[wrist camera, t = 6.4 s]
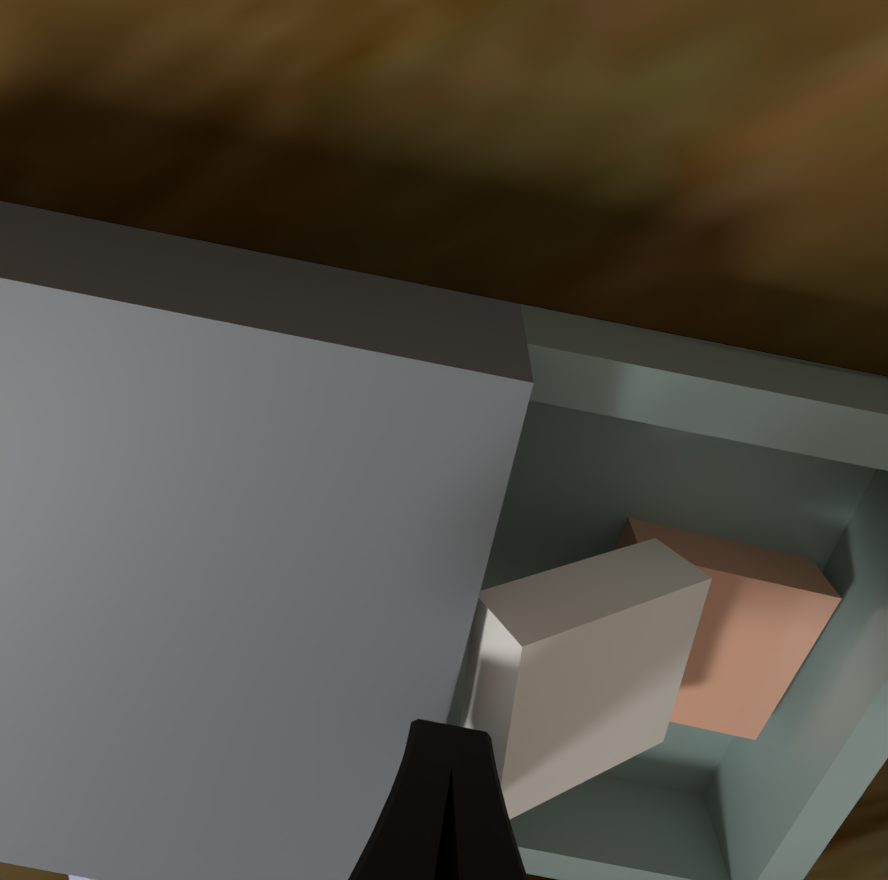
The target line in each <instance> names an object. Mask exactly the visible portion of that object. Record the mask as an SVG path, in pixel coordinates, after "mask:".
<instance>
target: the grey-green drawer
mask: <svg viewBox="0 0 888 880" xmlns="http://www.w3.org/2000/svg"><path fill="white" fill-rule="evenodd" d="M521 309H522V315H523V321H524V327H525V333H526V340H527V346H528V352H529V358H530V364H531V370H532V376H533V382H534V383H533V387H532V391H531V395H530V399H529V403H528V407H527V411H526V414H525V418H524V422H523V426H522V430H521V434H520V438H519V442H518V446H517V449H516V453H515V457H514V461H513V465H512V469H511V473H510V477H509V481H508V485H507V488H506V492H505V496H504V500H503V504H502V508H501V512H500V516H499V520H498V523H497V527H496V531H495V535H494V539H493V543H492V547H491V551H490V555H489V559H488V562H487V566H486V570H485V574H484V578H483V582H482V586H481V590H480V591H482V590H485V589H488V588H491V587H495V586H498V585H501V584H505V583H508V582H511V581H515V580H518V579H521V578H524V577H528V576H531V575H534V574H538V573H541V572H544V571H548V570H551V569H554V568H558V567H561V566H564V565H567V564H571V563H574V562H577V561H581V560H584V559H587V558H591V557H594V556H597V555H600V554H604V553H607V552H610V551H614V550H615V549H616V546H617V544H618V541H619V539H620V536H621V534H622V531H623V529H624V526H625V524H626V521H627V519H628V517H630V518H635V519H639V520H644V521H648V522H653V523H657V524H661V525H666V526H670V527H675V528H679V529H684V530H688V531H693V532H697V533H701V534H706V535H710V536H715V537H719V538H724V539H728V540H732V541H737V542H741V543H746V544H750V545H755V546H759V547H764V548H768V549H772V550H777V551H781V552H786V553H790V554H795V555H799V556H804V557H808V558H811V559H812V560H813V562H814V563H815V564H816V565H817V567H818V568H819V569H820V571H821V572H822V573H823V575H824V576H825V577H826V579H827V580H828V581H829V582H830V584H831V585H832V586H833V588H834V589H835V590H836V592H837V593H838V594H839V596H840V597H841V598H842V599H841V601H840V602H839V604H838V605H837V607H836V609H835V610H834V612H833V614H832V615H831V617H830V619H829V620H828V622H827V624H826V625H825V627H824V628H823V630H822V632H821V633H820V635H819V637H818V638H817V640H816V642H815V643H814V645H813V647H812V648H811V650H810V652H809V653H808V655H807V656H806V658H805V660H804V661H803V663H802V665H801V666H800V668H799V670H798V671H797V673H796V675H795V676H794V678H793V679H792V681H791V683H790V684H789V686H788V688H787V689H786V691H785V693H784V694H783V696H782V698H781V699H780V701H779V702H778V704H777V706H776V707H775V709H774V711H773V712H772V714H771V716H770V717H769V719H768V721H767V722H766V724H765V726H764V727H763V729H762V730H761V732H760V734H759V735H758V737H757V739H756V740H753V739H748V738H743V737H739V736H734V735H730V734H725V733H720V732H716V731H711V730H707V729H702V728H698V727H693V726H688V725H684V724H679V723H675V722H670V721H669V724H668V727H667V731H666V734H665V738H664V741H663V742H661V743H659V744H657V745H655V746H653V747H651V748H650V749H648V750H646V751H644V752H642V753H640V754H638V755H636V756H634V757H632V758H630V759H628V760H626V761H624V762H622V763H620V764H618V765H616V766H614V767H612V768H610V769H608V770H606V771H604V772H602V773H600V774H598V775H596V776H594V777H592V778H590V779H588V780H587V781H585V782H583V783H581V784H579V785H577V786H575V787H573V788H571V789H569V790H567V791H565V792H563V793H561V794H559V795H557V796H555V797H553V798H551V799H549V800H547V801H545V802H543V803H541V804H539V805H537V806H535V807H533V808H531V809H529V810H527V811H525V812H523V813H522V814H520V815H518V816H516V817H514V818H512V819H510V823H511V826H512V830H513V833H514V836H515V840H516V843H517V846H518V849H519V852H520V856H521V859H522V862H523V865H524V868H525V871H526V874H532V875H537V876H542V877H547V878H553V879H558V880H803V879H804V878H805V876H806V875H807V873H808V872H809V870H810V869H811V867H812V866H813V865H814V863H815V862H816V860H817V859H818V857H819V856H820V854H821V853H822V852H823V850H824V849H825V847H826V846H827V844H828V843H829V842H830V840H831V839H832V837H833V836H834V834H835V833H836V831H837V830H838V829H839V827H840V826H841V824H842V823H843V821H844V820H845V818H846V817H847V816H848V814H849V813H850V811H851V810H852V808H853V807H854V806H855V804H856V803H857V801H858V800H859V798H860V797H861V795H862V794H863V793H864V791H865V790H866V788H867V787H868V785H869V784H870V782H871V781H872V780H873V778H874V777H875V775H876V774H877V772H878V771H879V770H880V768H881V767H882V765H883V764H884V762H885V761H886V759H887V758H888V377H886V376H881V375H876V374H871V373H866V372H861V371H856V370H851V369H846V368H841V367H836V366H831V365H825V364H820V363H815V362H810V361H805V360H800V359H795V358H790V357H785V356H780V355H775V354H770V353H765V352H760V351H755V350H750V349H745V348H740V347H735V346H730V345H725V344H720V343H715V342H710V341H705V340H699V339H694V338H689V337H684V336H679V335H674V334H669V333H664V332H659V331H654V330H649V329H644V328H639V327H634V326H629V325H624V324H619V323H614V322H609V321H604V320H599V319H594V318H589V317H584V316H579V315H573V314H568V313H563V312H558V311H553V310H548V309H543V308H538V307H533V306H528V305H523V304H521ZM470 630H471V629H470ZM469 639H470V633H469V636H468V640H467V644H466V648H465V652H464V656H463V660H462V664H461V668H460V672H459V675H458V679H457V683H456V687H455V691H454V695H453V699H452V703H451V707H450V710H449V714H448V718H447V722H446V724H449V725H454V726H459V727H460V723H461V713H462V704H463V695H464V686H465V676H466V667H467V658H468V648H469Z"/></svg>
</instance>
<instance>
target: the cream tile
mask: <svg viewBox="0 0 888 880" xmlns="http://www.w3.org/2000/svg"><path fill="white" fill-rule="evenodd" d="M711 580H712V578H711V577H710V576H709V575H707V574H706V573H704V572H703V571H702V570H700V569H699V568H697V567H696V566H694V565H693V564H692V563H690V562H689V561H687V560H686V559H685V558H683V557H682V556H680V555H679V554H677V553H676V552H675V551H673V550H672V549H670V548H669V547H668V546H666V545H665V544H663V543H662V542H660V541H659V540H658V539H656V538H653V539H650V540H647V541H643V542H640V543H637V544H633V545H630V546H627V547H624V548H620V549H617V550H614V551H610V552H607V553H604V554H600V555H597V556H594V557H591V558H587V559H584V560H581V561H577V562H574V563H571V564H567V565H564V566H561V567H558V568H554V569H551V570H548V571H544V572H541V573H538V574H534V575H531V576H528V577H524V578H521V579H518V580H515V581H511V582H508V583H505V584H501V585H498V586H495V587H491V588H488V589H485V590H482V591H480V594H479V597H478V601H477V605H476V609H475V613H474V617H473V621H472V625H471V630H470V639H469V648H468V658H467V667H466V676H465V686H464V695H463V704H462V713H461V723H460V727H465V728H470V729H475V730H480V731H486V732H487V733H488V734H489V735H490V737H491V740H492V746H493V752H494V757H495V763H496V767H497V772H498V777H499V781H500V785H501V789H502V793H503V797H504V801H505V805H506V808H507V812H508V816H509V819H512V818H514V817H516V816H518V815H520V814H522V813H523V812H525V811H527V810H529V809H531V808H533V807H535V806H537V805H539V804H541V803H543V802H545V801H547V800H549V799H551V798H553V797H555V796H557V795H559V794H561V793H563V792H565V791H567V790H569V789H571V788H573V787H575V786H577V785H579V784H581V783H583V782H585V781H587V780H588V779H590V778H592V777H594V776H596V775H598V774H600V773H602V772H604V771H606V770H608V769H610V768H612V767H614V766H616V765H618V764H620V763H622V762H624V761H626V760H628V759H630V758H632V757H634V756H636V755H638V754H640V753H642V752H644V751H646V750H648V749H650V748H651V747H653V746H655V745H657V744H659V743H661V742H663V741H664V738H665V734H666V731H667V727H668V724H669V721H670V717H671V714H672V711H673V707H674V704H675V701H676V697H677V694H678V691H679V687H680V684H681V681H682V677H683V674H684V670H685V667H686V664H687V660H688V657H689V654H690V650H691V647H692V644H693V640H694V637H695V634H696V630H697V627H698V624H699V620H700V617H701V614H702V610H703V607H704V603H705V600H706V597H707V593H708V590H709V587H710V583H711Z"/></svg>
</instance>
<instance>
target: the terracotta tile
mask: <svg viewBox="0 0 888 880" xmlns="http://www.w3.org/2000/svg"><path fill="white" fill-rule="evenodd" d="M653 538H656V539H658V540H659V541H660V542H662V543H663V544H665V545H666V546H668V547H669V548H670V549H672V550H673V551H675V552H676V553H677V554H679V555H680V556H682V557H683V558H685V559H686V560H687V561H689V562H690V563H692V564H693V565H694V566H696V567H697V568H699V569H700V570H702V571H703V572H704V573H706V574H707V575H709V576H710V577H711V578H712V580H711V583H710V587H709V590H708V593H707V597H706V600H705V603H704V607H703V610H702V614H701V617H700V620H699V624H698V627H697V630H696V634H695V637H694V640H693V644H692V647H691V650H690V654H689V657H688V660H687V664H686V667H685V670H684V674H683V677H682V681H681V684H680V687H679V691H678V694H677V697H676V701H675V704H674V707H673V711H672V714H671V717H670V722H675V723H679V724H684V725H688V726H693V727H698V728H702V729H707V730H711V731H716V732H720V733H725V734H730V735H734V736H739V737H743V738H748V739H753V740H756V739H757V737H758V735H759V734H760V732H761V730H762V729H763V727H764V726H765V724H766V722H767V721H768V719H769V717H770V716H771V714H772V712H773V711H774V709H775V707H776V706H777V704H778V702H779V701H780V699H781V698H782V696H783V694H784V693H785V691H786V689H787V688H788V686H789V684H790V683H791V681H792V679H793V678H794V676H795V675H796V673H797V671H798V670H799V668H800V666H801V665H802V663H803V661H804V660H805V658H806V656H807V655H808V653H809V652H810V650H811V648H812V647H813V645H814V643H815V642H816V640H817V638H818V637H819V635H820V633H821V632H822V630H823V628H824V627H825V625H826V624H827V622H828V620H829V619H830V617H831V615H832V614H833V612H834V610H835V609H836V607H837V605H838V604H839V602H840V601H841V599H842V598H841V597H840V596H839V594H838V593H837V592H836V590H835V589H834V588H833V586H832V585H831V584H830V582H829V581H828V580H827V579H826V577H825V576H824V575H823V573H822V572H821V571H820V569H819V568H818V567H817V565H816V564H815V563H814V562H813V560H812V559H811V558H808V557H804V556H799V555H795V554H790V553H786V552H781V551H777V550H772V549H768V548H764V547H759V546H755V545H750V544H746V543H741V542H737V541H732V540H728V539H724V538H719V537H715V536H710V535H706V534H701V533H697V532H693V531H688V530H684V529H679V528H675V527H670V526H666V525H661V524H657V523H653V522H648V521H644V520H639V519H635V518H630V517H628V519H627V521H626V524H625V526H624V529H623V531H622V534H621V536H620V539H619V541H618V544H617V546H616V549H615V550H617V549H620V548H624V547H627V546H630V545H633V544H637V543H640V542H643V541H647V540H650V539H653Z"/></svg>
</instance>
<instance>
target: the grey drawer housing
mask: <svg viewBox="0 0 888 880" xmlns="http://www.w3.org/2000/svg"><path fill="white" fill-rule="evenodd" d="M533 383H534V382H533V376H532V370H531V364H530V358H529V352H528V346H527V340H526V333H525V327H524V321H523V315H522V309H521V304H518V303H513V302H508V301H503V300H498V299H493V298H488V297H483V296H478V295H473V294H468V293H463V292H458V291H453V290H447V289H442V288H437V287H432V286H427V285H422V284H417V283H412V282H407V281H402V280H397V279H392V278H387V277H382V276H377V275H372V274H367V273H362V272H357V271H352V270H347V269H342V268H337V267H332V266H327V265H321V264H316V263H311V262H306V261H301V260H296V259H291V258H286V257H281V256H276V255H271V254H266V253H261V252H256V251H251V250H246V249H241V248H236V247H231V246H226V245H221V244H216V243H211V242H206V241H201V240H195V239H190V238H185V237H180V236H175V235H170V234H165V233H160V232H155V231H150V230H145V229H140V228H135V227H130V226H125V225H120V224H115V223H110V222H105V221H100V220H95V219H90V218H85V217H80V216H75V215H69V214H64V213H59V212H54V211H49V210H44V209H39V208H34V207H29V206H24V205H19V204H14V203H9V202H4V201H0V862H4V863H9V864H14V865H20V866H25V867H31V868H36V869H41V870H47V871H52V872H57V873H63V874H68V875H73V876H79V877H84V878H89V879H95V880H348V879H349V877H350V875H351V873H352V871H353V869H354V867H355V865H356V863H357V861H358V859H359V857H360V856H361V854H362V852H363V850H364V848H365V846H366V844H367V842H368V840H369V838H370V836H371V834H372V832H373V829H374V827H375V825H376V823H377V820H378V818H379V816H380V814H381V811H382V809H383V807H384V805H385V802H386V800H387V798H388V796H389V793H390V791H391V788H392V786H393V783H394V780H395V778H396V775H397V773H398V770H399V767H400V764H401V761H402V758H403V755H404V751H405V747H406V742H407V738H408V733H409V729H410V724H411V722H412V721H415V720H417V719H423V720H428V721H433V722H438V723H444V724H446V722H447V718H448V714H449V710H450V707H451V703H452V699H453V695H454V691H455V687H456V683H457V679H458V675H459V672H460V668H461V664H462V660H463V656H464V652H465V648H466V644H467V640H468V636H469V633H470V629H471V625H472V621H473V617H474V613H475V609H476V605H477V601H478V597H479V594H480V590H481V586H482V582H483V578H484V574H485V570H486V566H487V562H488V559H489V555H490V551H491V547H492V543H493V539H494V535H495V531H496V527H497V523H498V520H499V516H500V512H501V508H502V504H503V500H504V496H505V492H506V488H507V485H508V481H509V477H510V473H511V469H512V465H513V461H514V457H515V453H516V449H517V446H518V442H519V438H520V434H521V430H522V426H523V422H524V418H525V414H526V411H527V407H528V403H529V399H530V395H531V391H532V387H533Z"/></svg>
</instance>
